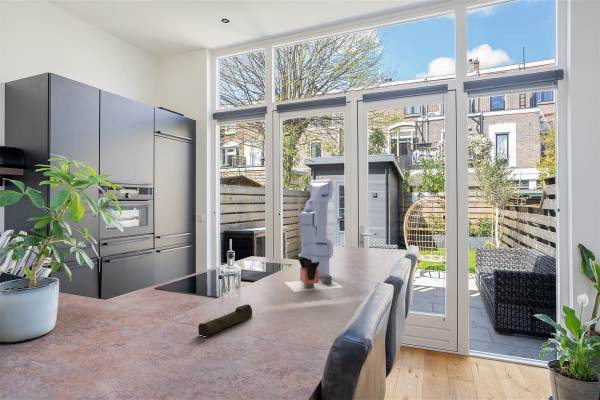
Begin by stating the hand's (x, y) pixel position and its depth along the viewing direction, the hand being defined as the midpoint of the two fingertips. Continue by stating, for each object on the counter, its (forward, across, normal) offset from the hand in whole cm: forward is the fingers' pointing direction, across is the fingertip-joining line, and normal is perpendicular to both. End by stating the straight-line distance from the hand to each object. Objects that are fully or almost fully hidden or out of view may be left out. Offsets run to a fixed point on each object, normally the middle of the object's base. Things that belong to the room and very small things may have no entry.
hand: (308, 277), depth 134 cm
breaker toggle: (+4, 0, 0) cm, 4 cm away
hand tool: (+6, +27, -33) cm, 43 cm away
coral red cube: (+2, 0, 0) cm, 2 cm away
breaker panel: (+5, -3, +3) cm, 7 cm away
